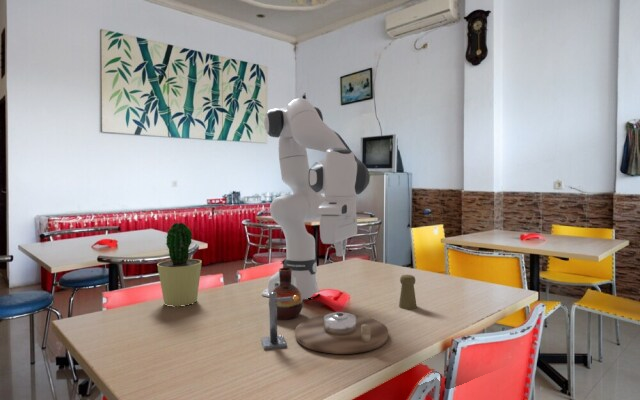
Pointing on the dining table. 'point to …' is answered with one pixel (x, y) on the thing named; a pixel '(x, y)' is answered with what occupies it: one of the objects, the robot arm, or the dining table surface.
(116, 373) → the dining table surface
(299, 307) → the vase
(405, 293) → the olive pawn
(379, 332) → the lazy susan
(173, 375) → the dining table surface
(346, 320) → the aluminium cover
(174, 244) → the potted cactus
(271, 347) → the post
